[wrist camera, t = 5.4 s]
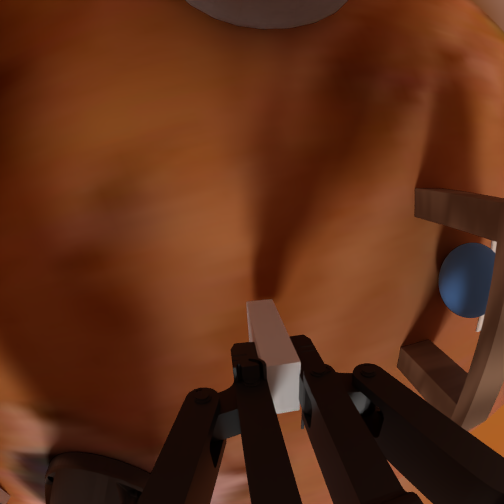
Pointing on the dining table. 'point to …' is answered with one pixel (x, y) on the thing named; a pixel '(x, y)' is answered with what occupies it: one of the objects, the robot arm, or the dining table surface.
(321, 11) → the coffee pot
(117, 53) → the dining table surface
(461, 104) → the dining table surface
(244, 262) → the dining table surface
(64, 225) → the dining table surface
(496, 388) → the bridge
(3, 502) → the milk
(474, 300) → the ball
